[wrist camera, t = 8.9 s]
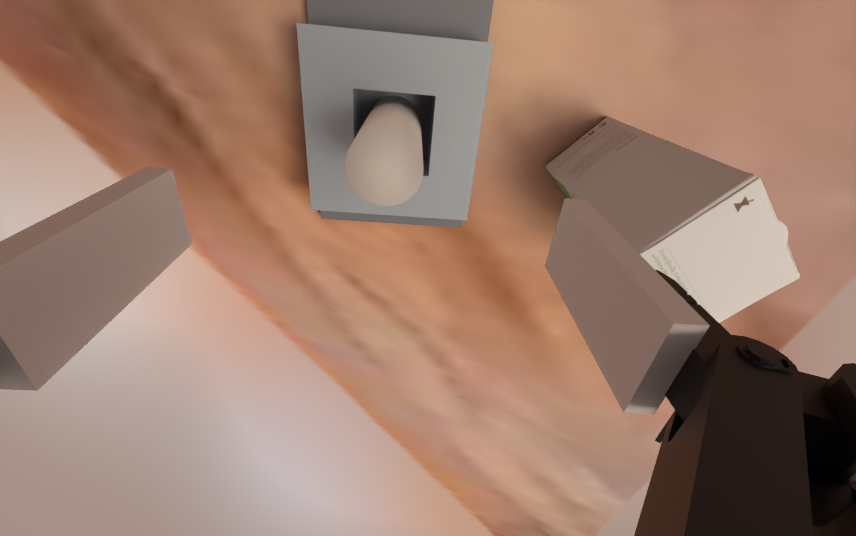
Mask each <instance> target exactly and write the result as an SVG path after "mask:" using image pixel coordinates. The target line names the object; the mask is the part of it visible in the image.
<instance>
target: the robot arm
mask: <svg viewBox="0 0 856 536" xmlns="http://www.w3.org/2000/svg"><path fill="white" fill-rule="evenodd" d="M191 244H192V240H191V236H190V232H189V229H188V225H187V222H186V218H185V214H184V211H183V207H182V203H181V200H180V196H179V193H178V189H177V185H176V182H175V178H174V174H173V171H172V169H168V168H155V167H146V168H144V169H142V170H140V171H138V172H136V173H134V174H132V175H131V176H129V177H127V178H125V179H123V180H121V181H119V182H117V183H115V184H113V185H111V186H109V187H107V188H105V189H103V190H101V191H99V192H97V193H95V194H93V195H91V196H89V197H87V198H85V199H83V200H81V201H79V202H77V203H75V204H74V205H72V206H70V207H68V208H66V209H64V210H62V211H60V212H58V213H56V214H54V215H52V216H50V217H48V218H46V219H44V220H42V221H40V222H38V223H36V224H34V225H32V226H30V227H28V228H26V229H24V230H22V231H20V232H18V233H16V234H14V235H12V236H11V237H9V238H7V239H5V240H3V241H1V242H0V389H15V390H38V389H39V388H40V387H41V386H43V385H44V384H45V383H46V382H47V381H48V380H49V379H50V378H51V377H52V376H53V375H54V374H55V373H56V372H57V371H58V370H60V369H61V368H62V367H63V366H64V365H65V364H66V363H67V362H68V361H69V360H70V359H71V358H72V357H73V356H74V355H75V354H76V353H77V352H78V351H79V350H81V348H83V346H85V345H86V344H87V343H88V342H89V341H90V340H91V339H92V338H93V337H94V336H95V335H96V334H97V333H99V332H100V331H101V330H102V329H103V328H104V327H105V326H106V325H107V324H108V323H109V322H110V321H111V320H112V319H113V318H114V317H115V316H116V315H117V314H118V313H120V312H121V311H122V309H124V308H125V307H126V306H127V305H128V304H129V303H130V302H131V301H132V300H133V299H134V298H135V297H136V296H138V295H139V294H140V293H141V292H142V291H143V290H144V289H145V288H146V287H147V286H148V285H149V284H150V283H151V282H152V281H153V280H154V279H155V278H156V277H157V276H159V275H160V273H162V272H163V271H164V270H165V269H166V268H167V267H168V266H169V265H170V264H171V263H172V262H173V261H174V260H175V259H177V258H178V257H179V256H180V255H181V254H182V253H183V252H184V251H185V250H186V249H187V248H188V247H189V246H190V245H191ZM545 267H546V269H547V271H548V272H549V274H550V276H551V278H552V280H553V282H554V284H555V285H556V287H557V289H558V291H559V293H560V295H561V297H562V298H563V300H564V302H565V304H566V306H567V308H568V310H569V311H570V313H571V315H572V317H573V319H574V321H575V323H576V324H577V326H578V328H579V330H580V332H581V334H582V336H583V337H584V339H585V341H586V343H587V345H588V347H589V349H590V350H591V352H592V354H593V356H594V358H595V360H596V362H597V363H598V365H599V367H600V369H601V371H602V373H603V375H604V376H605V378H606V380H607V382H608V384H609V386H610V388H611V389H612V391H613V393H614V395H615V397H616V399H617V401H618V402H619V404H620V406H621V408H622V410H623V412H624V413H650V414H655V412H656V411H657V409H658V408H659V406H660V404H661V403H662V401H663V400H664V398H665V396H666V397H667V398H668V400H669V401H670V403H671V404H672V406H673V407H674V409H675V411H674V413H673V414H672V416H671V417H670V419H669V420H668V422H667V423H666V425H665V426H664V428H663V429H662V431H661V432H660V434H659V435H658V437H657V438H656V440H655V441H657V442H659V443H661V441H662V443H661V447H660V450H659V454H658V457H657V460H656V464H655V467H654V470H653V474H652V477H651V481H650V484H649V487H648V491H647V494H646V498H645V501H644V505H643V508H642V511H641V514H640V518H639V521H638V525H637V528H636V531H635V535H634V536H856V364H854V363H852V364H843V365H842V366H841V367H840V368H839V369H838V370H837V371H836V372H835V373H834V374H833V376H832V377H831V378H830V379H826V378H822V377H818V376H815V375H811V374H806V373H803V372H799V371H798V370H797V368H796V366H795V365H794V364H793V363H792V362H791V361H790V360H789V359H788V358H787V357H786V356H784V355H783V354H782V353H780V352H779V351H777V350H776V349H774V348H773V347H771V346H768V345H766V344H764V343H762V342H760V341H758V340H754V339H751V338H748V337H744V336H736V335H731V334H730V333H729V332H728V331H727V330H725V329H724V328H723V327H722V326H721V325H720V324H719V323H718V322H717V321H716V320H715V319H714V318H713V317H712V316H711V315H710V314H709V313H708V312H707V311H706V310H705V309H704V308H703V307H702V306H701V305H697V301H696V300H695V299H694V298H693V297H692V296H691V295H687V291H686V290H684V289H683V288H682V287H681V286H680V285H679V284H678V283H677V282H676V281H675V280H673V279H672V278H670V277H669V276H667V275H665V274H664V273H662V272H660V271H659V270H655V269H654V268H653V267H652V266H651V265H650V264H649V263H648V262H647V261H646V260H645V259H644V258H643V257H642V256H641V255H640V254H639V253H638V252H637V251H636V250H635V249H634V248H633V247H632V246H631V245H630V244H629V243H628V242H627V241H626V240H625V239H624V238H623V237H622V236H621V235H620V234H619V233H618V232H617V231H616V230H615V229H614V228H613V227H612V226H611V225H610V224H609V223H608V222H607V221H606V220H605V219H604V218H603V217H602V216H601V215H600V214H599V213H598V212H597V211H596V210H595V209H594V208H593V207H592V206H591V205H590V204H589V202H588V201H587V200H581V199H567V198H565V199H564V202H563V205H562V209H561V212H560V216H559V219H558V222H557V226H556V229H555V233H554V236H553V239H552V243H551V246H550V250H549V253H548V256H547V260H546V263H545Z"/></svg>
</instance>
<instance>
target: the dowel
mask: <svg viewBox="0 0 856 536" xmlns="http://www.w3.org/2000/svg"><path fill="white" fill-rule="evenodd" d="M345 173H346V177H347V180H348V182H349V184H350V186H351V188H352V189H353V190H354V192H355V193H356V194H357V195H358V196H359V197H361V198H362V199H363V200H365V201H367V202H369V203H371V204H374V205H378V206H395V205H398V204H401V203H403V202H405V201H407V200H408V199H410V198H411V197H412V196H413V195H414V194H415V193H416V191H417V190H418V188H419V187H420V184H421V182H422V178H423V173H424V167H423V151H422V135H421V121H420V116H419V113H418V111H417V109H416V107H415V106H414V105H413V104H412V103H411V102H410V101H409V100H407V99H406V98H403V97H400V96H388V97H385V98H383V99H381V100H379V101H378V102H377V103H376V104H375V105H374V107H373V109H372V110H371V112H370V114H369V115H368V117H367V119H366V120H365V122H364V124H363V125H362V127H361V129H360V130H359V132H358V134H357V136H356V137H355V139H354V141H353V142H352V144H351V146H350V147H349V149H348V151H347V154H346V158H345Z"/></svg>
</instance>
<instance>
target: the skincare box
mask: <svg viewBox="0 0 856 536" xmlns="http://www.w3.org/2000/svg"><path fill="white" fill-rule="evenodd" d="M546 169H547V170H548V172H549V173H550V174H551V176H552V177H553V179H554V180H555V181H556V183H557V184H558V185H559V187H560V188H561V189H562V191H563V192H564V193H565V195H566V196H567V197H568V199H581V200H587V201H588V202H589V204H590V205H591V206H592V207H593V208H594V209H595V210H596V211H597V212H598V213H599V214H600V215H601V216H602V217H603V218H604V219H605V220H606V221H607V222H608V223H609V224H610V225H611V226H612V227H613V228H614V229H615V230H616V231H617V232H618V233H619V234H620V235H621V236H622V237H623V238H624V239H625V240H626V241H627V242H628V243H629V244H630V245H631V246H632V247H633V248H634V249H635V250H636V251H637V252H638V253H639V254H640V255H641V256H642V257H643V258H644V259H645V260H646V261H647V262H648V263H649V264H650V265H651V266H652V267H653V268H654V269H655V270H659V271H660V272H662V273H664V274H665V275H667V276H669V277H670V278H672V279H673V280H675V281H676V282H677V283H678V284H679V285H680V286H681V287H682V288H683V289H684V290H686V291H687V295H691V296H692V297H693V298H694V299H695V300H696V301H697V305H701V306H702V307H703V308H704V309H705V310H706V311H707V312H708V313H709V314H710V315H711V316H712V317H713V318H714V319H715V320H716V321H717V322H718V323H720V322H721V321H723V320H725V319H727V318H728V317H730V316H732V315H733V314H735V313H737V312H739V311H740V310H742V309H744V308H746V307H747V306H749V305H751V304H753V303H754V302H756V301H758V300H760V299H761V298H763V297H765V296H767V295H769V294H771V293H772V292H774V291H776V290H778V289H780V288H782V287H784V286H786V285H787V284H789V283H791V282H793V281H795V280H797V279H799V278H800V274H799V272H798V270H797V267H796V265H795V262H794V259H793V257H792V254H791V251H790V248H789V246H788V243H787V240H788V230H787V227H786V226H785V224H784V223H782V222H781V221H779V220H778V219H777V217H776V215H775V212H774V209H773V207H772V205H771V202H770V200H769V198H768V195H767V193H766V190H765V188H764V186H763V183H762V181H761V179H760V178H759V177H758V176H756V175H754V174H751V173H747V172H744V171H741V170H739V169H736V168H734V167H731V166H728V165H726V164H723V163H721V162H718V161H716V160H713V159H711V158H708V157H706V156H704V155H701V154H699V153H696V152H694V151H691V150H689V149H686V148H684V147H681V146H679V145H676V144H674V143H671V142H669V141H666V140H664V139H661V138H659V137H656V136H654V135H651V134H649V133H647V132H644V131H642V130H639V129H637V128H634V127H632V126H629V125H627V124H625V123H622V122H620V121H617V120H615V119H613V118H611V117H606V118H605V119H604V120H602V121H601V122H600V123H599V124H597V125H596V126H595V127H594V128H592V129H591V130H590V131H589V132H587V133H586V134H585V135H583V136H582V137H581V138H580V139H578V140H577V141H576V142H575V143H573V144H572V145H571V146H570V147H568V148H567V149H566V150H565V151H564V152H562V153H561V154H560V155H558V156H557V157H556V158H555V159H553V160H552V161H551V162H550V163H548V164H547V165H546Z"/></svg>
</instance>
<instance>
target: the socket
mask: <svg viewBox="0 0 856 536" xmlns="http://www.w3.org/2000/svg"><path fill="white" fill-rule="evenodd" d="M492 7H493V0H307V14H308V24H303V23H296V26H297V38H298V51H299V64H300V76H301V89H302V102H303V115H304V127H305V140H306V153H307V165H308V178H309V191H310V203H311V210H320V213H321V218H322V219H337V220H352V221H367V222H382V223H397V224H412V225H427V226H442V227H457V228H461V222H462V220H467V217H468V210H469V204H470V197H471V191H472V184H473V177H474V171H475V164H476V158H477V151H478V144H479V138H480V131H481V125H482V118H483V111H484V105H485V98H486V92H487V85H488V79H489V72H490V65H491V59H492V52H493V46H494V43H491V42H488V35H489V28H490V21H491V14H492ZM388 96H400V97H403V98H406V99H407V100H409V101H410V102H411V103H412V104H413V105H414V106H415V107H416V109H417V111H418V113H419V116H420V121H421V135H422V151H423V167H424V173H423V178H422V182H421V184H420V187H419V188H418V190H417V191H416V193H415V194H414V195H413V196H412V197H411V198H410V199H408V200H407V201H405V202H403V203H401V204H398V205H395V206H378V205H374V204H371V203H369V202H367V201H365V200H363V199H362V198H361V197H359V196H358V195H357V194H356V193H355V192H354V190H353V189H352V188H351V186H350V184H349V182H348V180H347V177H346V173H345V158H346V154H347V151H348V149H349V147H350V146H351V144H352V142H353V141H354V139H355V137H356V136H357V134H358V132H359V130H360V129H361V127H362V125H363V124H364V122H365V120H366V119H367V117H368V115H369V114H370V112H371V110H372V109H373V107H374V105H375V104H376V103H377V102H378V101H379V100H381V99H383V98H385V97H388Z"/></svg>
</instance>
